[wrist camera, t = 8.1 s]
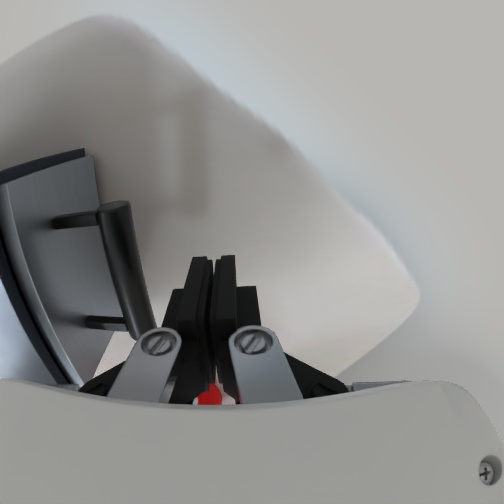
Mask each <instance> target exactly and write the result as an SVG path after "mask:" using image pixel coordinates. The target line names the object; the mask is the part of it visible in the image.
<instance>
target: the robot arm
mask: <svg viewBox="0 0 504 504" xmlns="http://www.w3.org/2000/svg"><path fill="white" fill-rule="evenodd" d="M216 367H217V373H218V379H219V383H223V389H224V392H226V393H227V394H228V395H230V396H231V397H232V398H234V399H235V404H236V405H198V398H197V397H198V396H199V395H201V394H202V393H203V392H209V390H210V384H215V375H216ZM0 504H504V444H503V442H502V440H501V438H500V436H499V434H498V432H497V431H496V429H495V427H494V425H493V424H492V422H491V420H490V419H489V417H488V416H487V414H486V412H485V411H484V410H483V408H482V407H481V406H480V404H479V403H478V402H477V400H476V399H475V398H474V397H473V396H472V395H471V394H470V393H469V392H468V391H467V390H466V389H464V388H463V387H461V386H459V385H457V384H454V383H450V382H443V381H389V382H353V383H352V386H347V385H344V383H342V382H340V381H339V380H337V379H335V378H333V377H331V376H329V375H327V374H325V373H323V372H321V371H319V370H317V369H315V368H313V367H311V366H309V365H307V364H305V363H303V362H301V361H299V360H297V359H296V358H294V357H292V356H290V355H288V354H286V353H284V352H283V350H282V347H281V345H280V343H279V340H278V338H277V336H276V335H275V333H274V332H273V331H271V330H270V329H268V328H265V327H263V326H261V320H260V313H259V306H258V298H257V291H256V286H242V287H237V284H236V267H235V255H226V256H221V259H216V263H215V272H213V262H212V260H207V256H203V257H193V258H192V261H191V265H190V268H189V272H188V275H187V279H186V282H185V286H184V289H174V290H173V292H172V295H171V298H170V301H169V304H168V307H167V310H166V314H165V317H164V320H163V323H162V327H159V328H154V329H151V330H149V331H146V332H145V333H143V334H142V335H141V336H140V337H139V339H138V340H137V342H136V343H135V345H134V347H133V349H132V350H131V352H130V354H129V356H128V358H127V359H126V361H124V362H122V363H120V364H119V365H117V366H115V367H113V368H111V369H110V370H108V371H106V372H104V373H102V374H100V375H99V376H97V377H95V378H93V379H91V380H89V381H88V382H86V383H85V384H84V385H83V386H82V387H80V385H79V384H41V383H36V382H31V381H27V380H21V379H14V378H0Z"/></svg>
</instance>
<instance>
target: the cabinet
mask: <svg viewBox="0 0 504 504" xmlns="http://www.w3.org/2000/svg"><path fill="white" fill-rule="evenodd" d="M82 157H85V153H84V148H81V149H77V150H72V151H68V152H64V153H60V154H56V155H52V156H48V157H44V158H40V159H37V160H33V161H30V162H27V163H23V164H20V165H17V166H14V167H11V168H8V169H5V170H2V171H0V185H2V184H4V183H7V182H9V181H12V180H14V179H17V178H20V177H22V176H25V175H28V174H30V173H33V172H36V171H39V170H42V169H45V168H48V167H51V166H54V165H57V164H61V163H64V162H67V161H71V160H74V159H78V158H82ZM0 378H14V379H21V380H27V381H31V382H36V383H41V384H71V383H70V381H69V380H68V378H67V377H66V375H65V374H64V372H63V371H62V369H61V368H60V366H59V364H58V363H57V364H56V363H55V362H54V360H53V358H52V357H51V355H50V353H49V352H48V350H47V348H46V346H45V345H44V343H43V341H42V339H41V337H40V335H39V333H38V332H37V330H36V328H35V326H34V324H33V322H32V320H31V318H30V315H29V313H28V311H27V309H26V307H25V305H24V302H23V300H22V298H21V295H20V293H19V290H18V288H17V285H16V283H15V280H14V278H13V275H12V272H11V269H10V267H9V264H8V261H7V258H6V255H5V252H4V248H3V245H2V242H1V238H0Z"/></svg>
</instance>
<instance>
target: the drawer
mask: <svg viewBox="0 0 504 504" xmlns="http://www.w3.org/2000/svg"><path fill="white" fill-rule="evenodd" d="M0 238H1V242H2V245H3V248H4V252H5V255H6V258H7V261H8V264H9V267H10V269H11V272H12V275H13V278H14V280H15V283H16V285H17V288H18V290H19V293H20V295H21V298H22V300H23V302H24V305H25V307H26V309H27V311H28V313H29V315H30V318H31V320H32V322H33V324H34V326H35V328H36V330H37V332H38V333H39V335H40V337H41V339H42V341H43V343H44V345H45V346H46V348H47V350H48V352H49V353H50V355H51V357H52V358H53V360H54V362H55V363H56V364H57V363H58V364H59V366H60V368H61V369H62V371H63V372H64V374H65V375H66V377H67V378H68V380H69V381H70V383H71V384H79V385H80V387H82V386H83V385H84V384H85V383H86V382H88V381H89V380H91V379H92V378H93V376H94V373H95V371H96V369H97V367H98V365H99V362H100V360H101V358H102V356H103V354H104V352H105V350H106V348H107V346H108V344H109V342H110V339H111V337H112V335H113V333H114V331H125V332H128V331H129V334H130V336H131V337H132V338H133V339H134V340H136V341H137V340H138V339H139V337H140V336H141V335H142V334H143V333H145V332H146V331H149V330H151V329H154V328H157V325H156V322H155V318H154V315H153V311H152V307H151V304H150V300H149V296H148V292H147V288H146V283H145V279H144V275H143V270H142V266H141V261H140V257H139V252H138V247H137V241H136V236H135V231H134V225H133V219H132V213H131V206H130V203H129V201H115V202H110V203H107V204H104V205H101V206H100V204H99V198H98V191H97V185H96V177H95V169H94V161H93V155H91V156H87V157H82V158H78V159H74V160H71V161H67V162H64V163H61V164H57V165H54V166H51V167H48V168H45V169H42V170H39V171H36V172H33V173H30V174H28V175H25V176H22V177H20V178H17V179H14V180H12V181H9V182H7V183H4V184H2V185H0ZM122 316H123V317H122Z"/></svg>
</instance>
